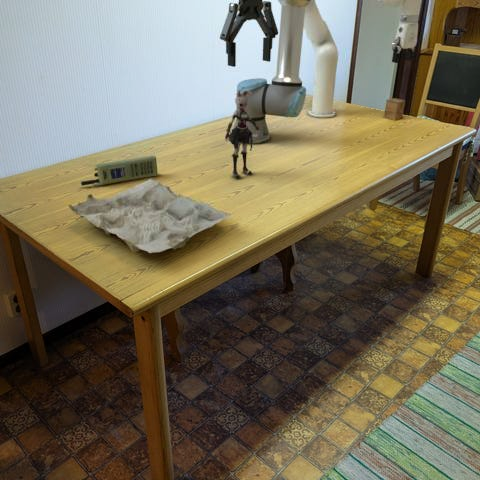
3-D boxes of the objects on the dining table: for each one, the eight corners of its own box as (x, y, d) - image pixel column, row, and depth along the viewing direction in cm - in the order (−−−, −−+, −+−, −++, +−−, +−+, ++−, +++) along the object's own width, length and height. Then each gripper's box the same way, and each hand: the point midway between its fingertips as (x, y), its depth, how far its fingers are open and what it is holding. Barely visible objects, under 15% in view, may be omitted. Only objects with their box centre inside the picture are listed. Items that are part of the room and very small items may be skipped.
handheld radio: (158, 176, 170) (83, 189, 160) (155, 173, 172) (80, 186, 162) (156, 157, 167) (79, 169, 157) (153, 154, 169) (77, 166, 159)
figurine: (229, 182, 166) (230, 89, 151) (218, 177, 170) (217, 86, 155) (261, 171, 175) (264, 82, 160) (249, 166, 178) (251, 79, 164)
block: (394, 120, 232) (397, 102, 228) (383, 117, 236) (386, 99, 232) (402, 118, 235) (405, 100, 231) (391, 115, 239) (394, 97, 235)
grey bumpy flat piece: (148, 192, 160) (63, 221, 139) (147, 174, 157) (60, 201, 136) (236, 233, 139) (152, 274, 118) (238, 213, 136) (151, 251, 115)
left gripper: (223, -16, 130) (224, 70, 140) (292, -18, 144) (288, 60, 154) (206, -17, 135) (208, 66, 145) (274, -19, 149) (271, 57, 159)
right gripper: (404, 21, 208) (397, 64, 216) (428, 19, 217) (420, 60, 226) (389, 19, 213) (382, 62, 221) (413, 17, 222) (405, 58, 231)
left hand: (249, 63), depth 150 cm, fingers open, 13 cm apart
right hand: (401, 61), depth 223 cm, fingers open, 9 cm apart
